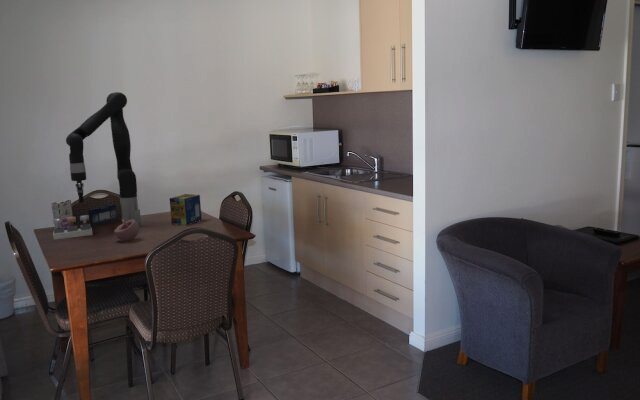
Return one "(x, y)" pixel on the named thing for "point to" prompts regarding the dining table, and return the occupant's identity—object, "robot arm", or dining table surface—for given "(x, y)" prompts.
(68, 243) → the dining table surface
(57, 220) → the plunger
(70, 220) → the dial knob
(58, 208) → the candy bar box
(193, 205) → the protein box
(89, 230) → the grey knob panel
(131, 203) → the robot arm
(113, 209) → the vhs cassette tape
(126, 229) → the mortar and pestle
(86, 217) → the plunger
